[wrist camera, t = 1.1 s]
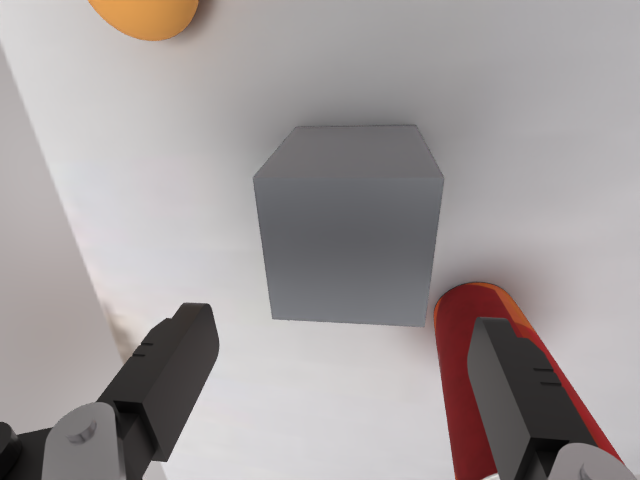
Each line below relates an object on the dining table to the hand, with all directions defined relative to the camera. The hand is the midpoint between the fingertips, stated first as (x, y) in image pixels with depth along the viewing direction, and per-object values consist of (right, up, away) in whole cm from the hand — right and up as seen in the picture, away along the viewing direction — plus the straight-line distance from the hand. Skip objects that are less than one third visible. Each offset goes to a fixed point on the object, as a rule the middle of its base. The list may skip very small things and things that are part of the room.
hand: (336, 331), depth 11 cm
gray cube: (+2, +6, +11) cm, 13 cm away
